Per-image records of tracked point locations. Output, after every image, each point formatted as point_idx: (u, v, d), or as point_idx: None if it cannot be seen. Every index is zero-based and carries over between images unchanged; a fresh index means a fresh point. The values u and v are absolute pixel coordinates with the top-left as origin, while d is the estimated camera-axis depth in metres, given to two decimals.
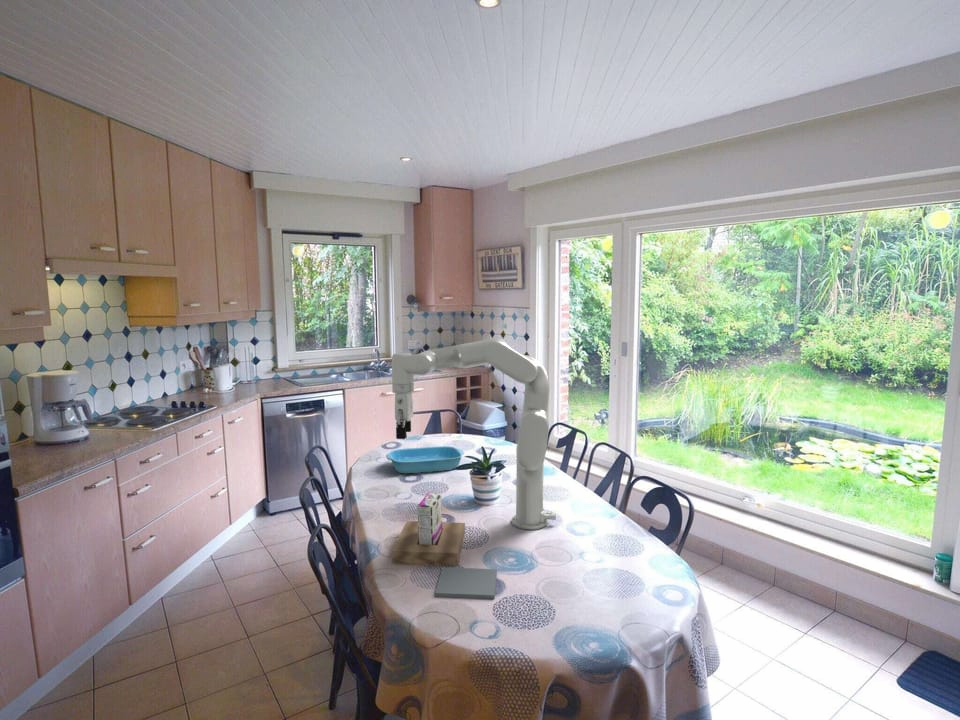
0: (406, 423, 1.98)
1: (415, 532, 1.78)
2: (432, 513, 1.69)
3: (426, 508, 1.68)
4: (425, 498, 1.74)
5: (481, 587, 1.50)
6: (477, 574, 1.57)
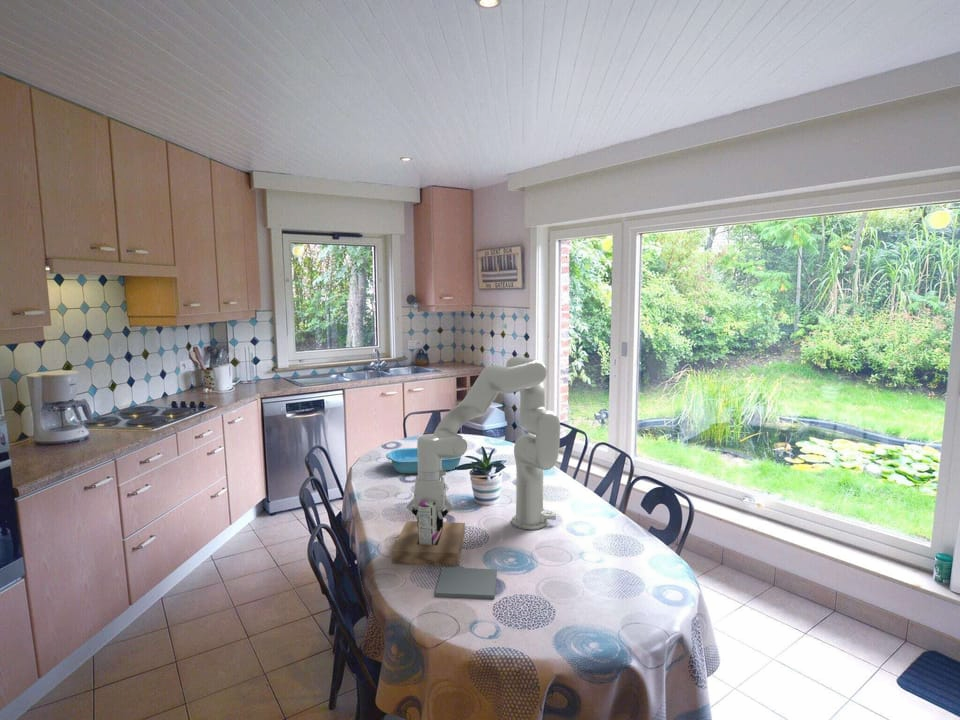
0: None
1: (415, 532, 1.78)
2: (432, 513, 1.69)
3: (427, 508, 1.68)
4: None
5: (481, 587, 1.50)
6: (477, 574, 1.57)
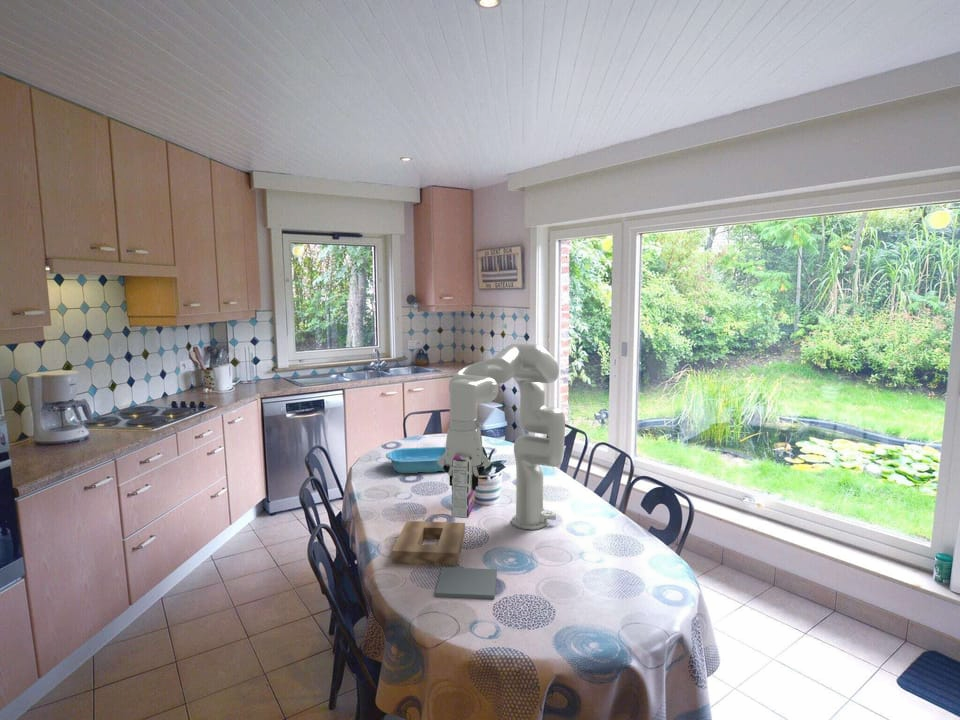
0: None
1: (415, 532, 1.78)
2: (469, 468, 1.46)
3: (463, 462, 1.45)
4: None
5: (481, 587, 1.50)
6: (477, 574, 1.57)
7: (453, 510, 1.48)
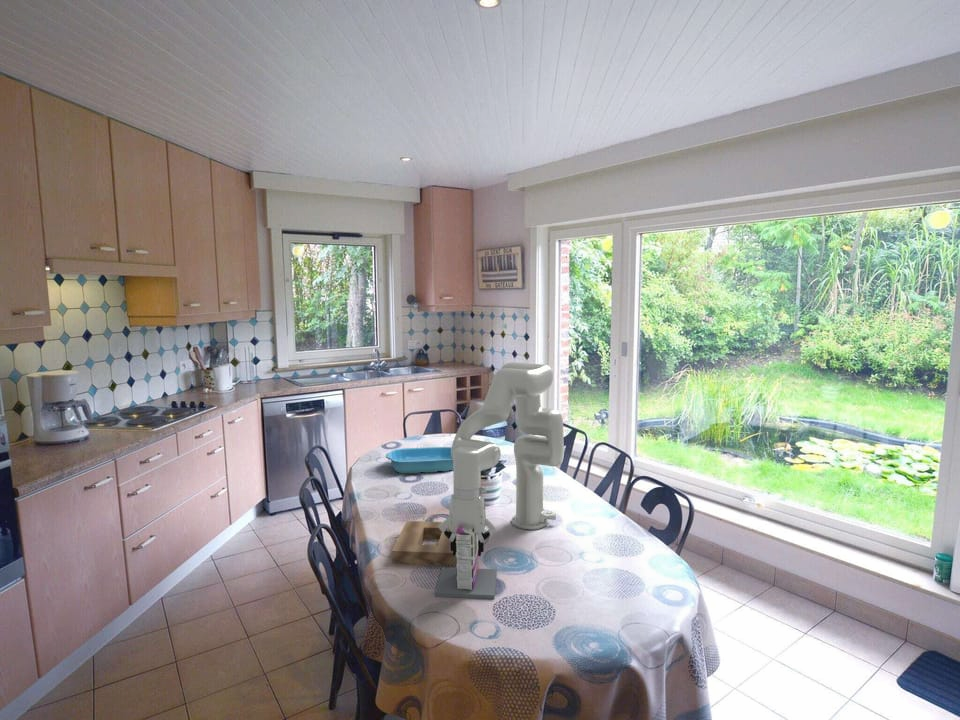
0: (455, 542, 1.53)
1: (415, 532, 1.78)
2: (472, 541, 1.47)
3: (466, 536, 1.46)
4: None
5: (481, 587, 1.50)
6: (477, 574, 1.57)
7: (458, 583, 1.49)
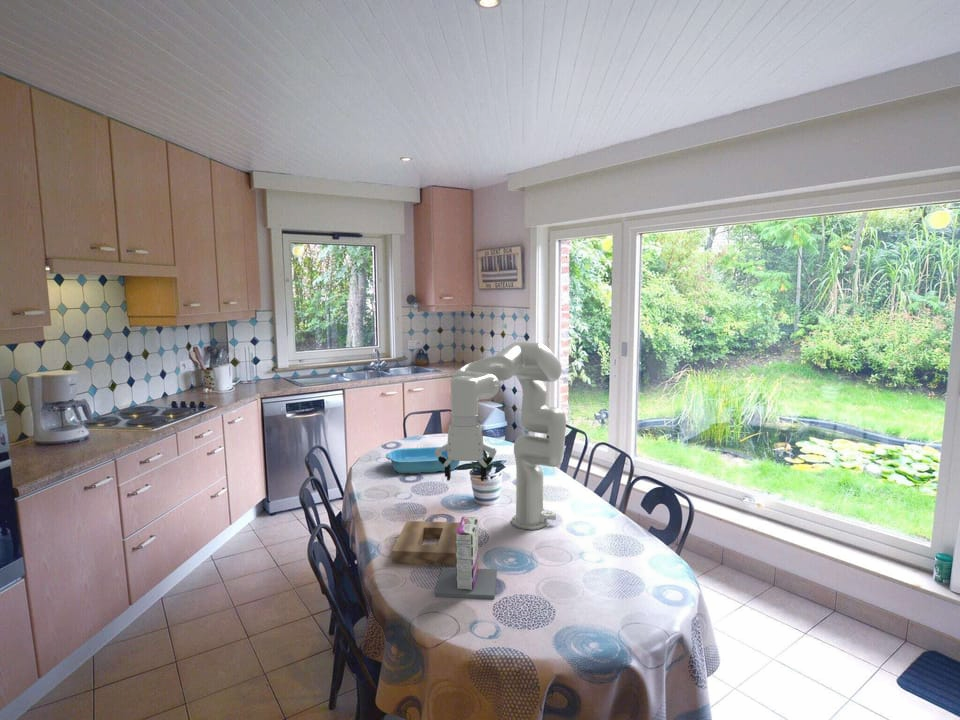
0: None
1: (415, 532, 1.78)
2: (472, 541, 1.47)
3: (466, 536, 1.46)
4: (461, 523, 1.52)
5: (481, 587, 1.50)
6: (477, 574, 1.57)
7: (458, 583, 1.49)
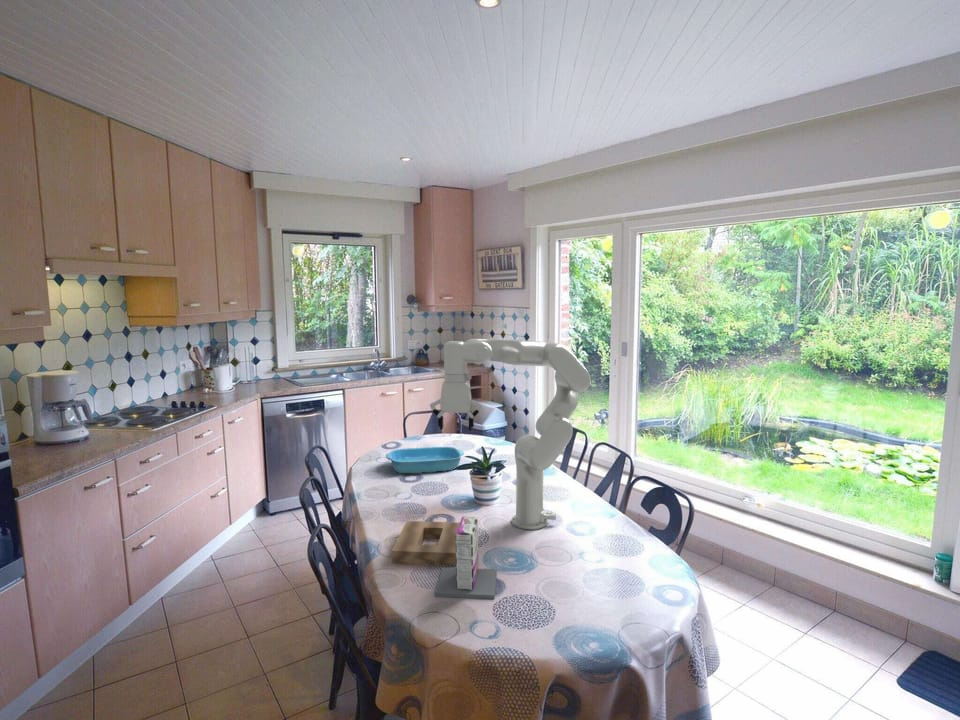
0: (442, 419, 1.83)
1: (415, 532, 1.78)
2: (472, 541, 1.47)
3: (466, 536, 1.46)
4: (461, 523, 1.52)
5: (481, 587, 1.50)
6: (477, 574, 1.57)
7: (458, 583, 1.49)
